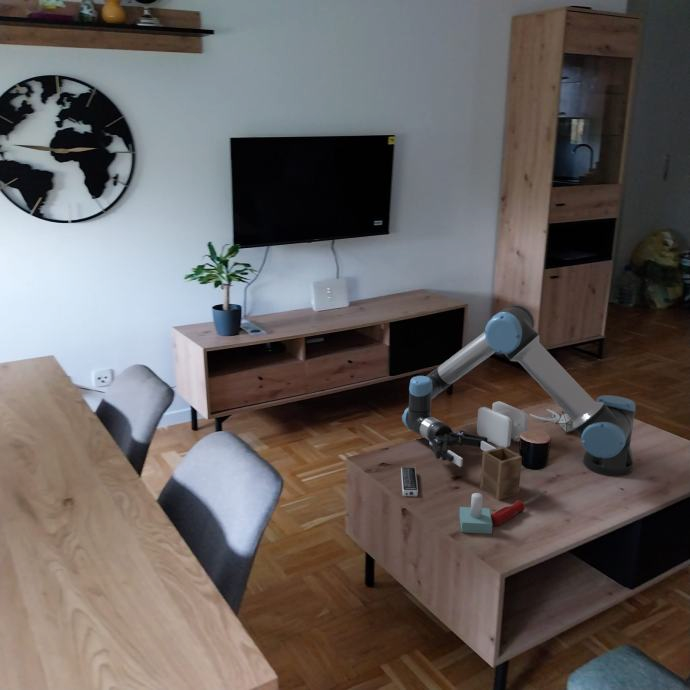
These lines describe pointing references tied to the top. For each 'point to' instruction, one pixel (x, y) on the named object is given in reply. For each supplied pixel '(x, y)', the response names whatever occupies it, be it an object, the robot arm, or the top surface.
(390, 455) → the top surface
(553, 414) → the pliers
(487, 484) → the brown tall open box
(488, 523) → the post stand
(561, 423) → the game die
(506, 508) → the screwdriver
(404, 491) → the multiport hub
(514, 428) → the cable organizer
